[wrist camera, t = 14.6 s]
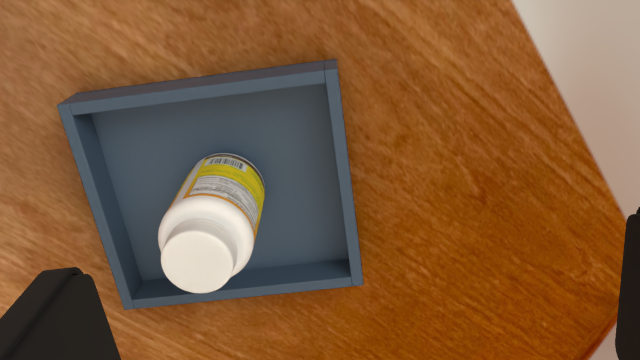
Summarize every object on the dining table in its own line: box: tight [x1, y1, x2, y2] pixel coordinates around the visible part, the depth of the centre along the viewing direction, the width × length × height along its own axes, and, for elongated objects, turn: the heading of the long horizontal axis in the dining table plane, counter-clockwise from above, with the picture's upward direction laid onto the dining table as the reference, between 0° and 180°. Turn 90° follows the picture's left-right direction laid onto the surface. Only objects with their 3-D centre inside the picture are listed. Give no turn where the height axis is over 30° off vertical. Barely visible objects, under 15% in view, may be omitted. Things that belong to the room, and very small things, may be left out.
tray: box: [57, 59, 363, 310], centre depth 39 cm, size 18×16×3 cm
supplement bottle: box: [158, 153, 265, 293], centre depth 35 cm, size 6×6×10 cm
